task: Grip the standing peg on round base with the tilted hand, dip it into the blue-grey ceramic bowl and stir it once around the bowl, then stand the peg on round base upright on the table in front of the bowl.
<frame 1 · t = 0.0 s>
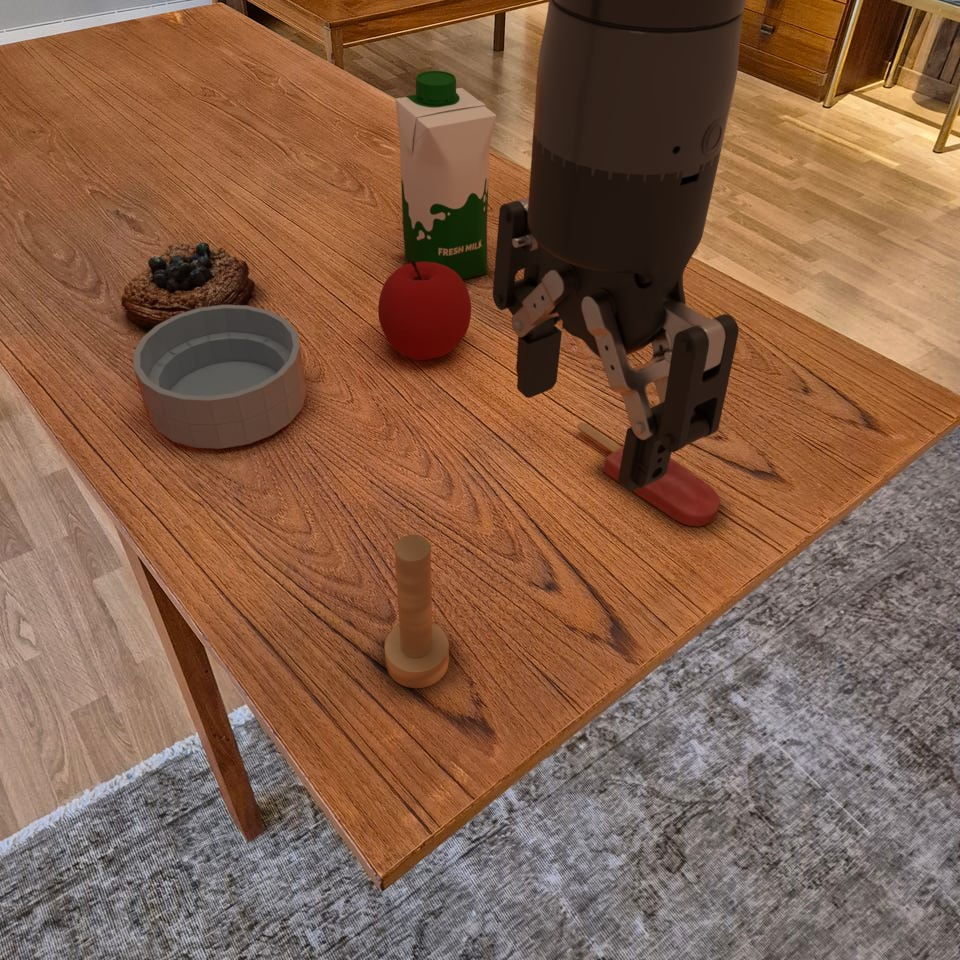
hand: (584, 433, 46), 22 cm above the table, tool pointing down, fingers open, 8 cm apart
popsicle: (640, 476, 77), on the table
milk carton: (445, 268, 101), on the table
apple: (425, 348, 90), on the table
pastry: (193, 308, 94), on the table
bowl: (229, 402, 82), on the table
peg on round base: (417, 661, 62), on the table
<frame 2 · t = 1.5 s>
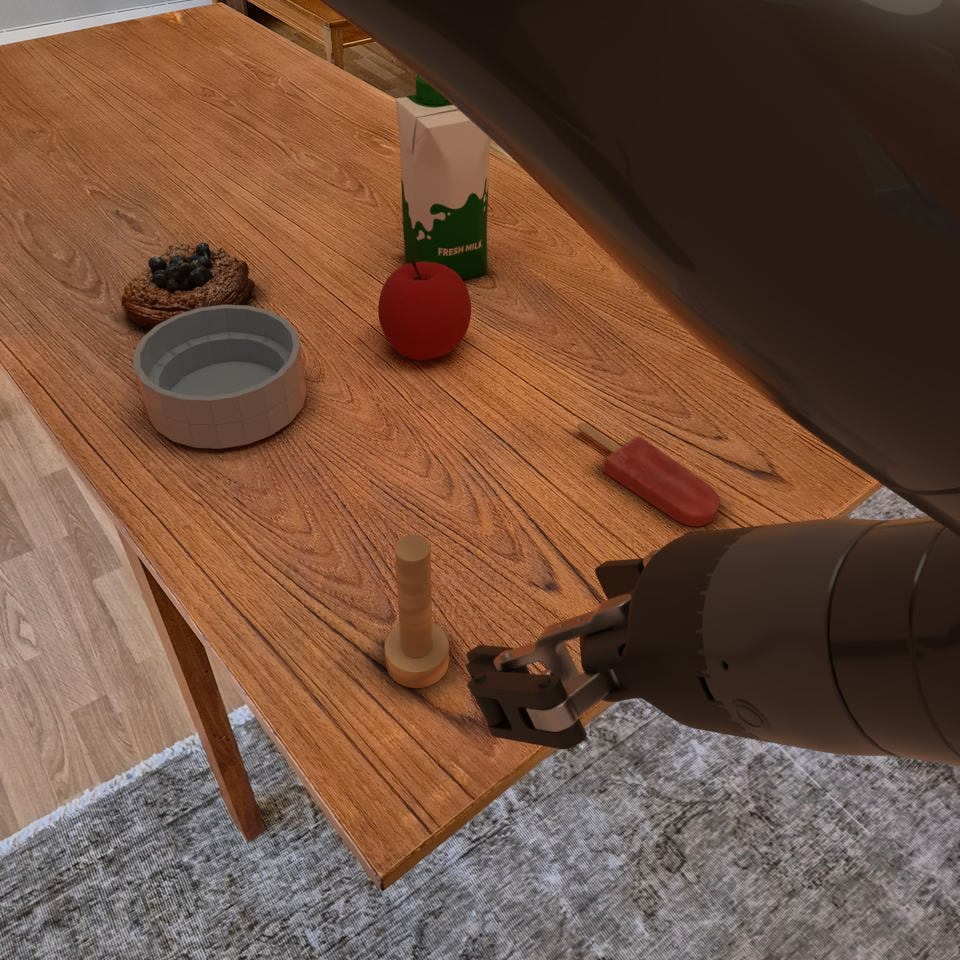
hand: (545, 623, 45), 16 cm above the table, tool tilted 45°, fingers open, 8 cm apart
nothing on the table moved.
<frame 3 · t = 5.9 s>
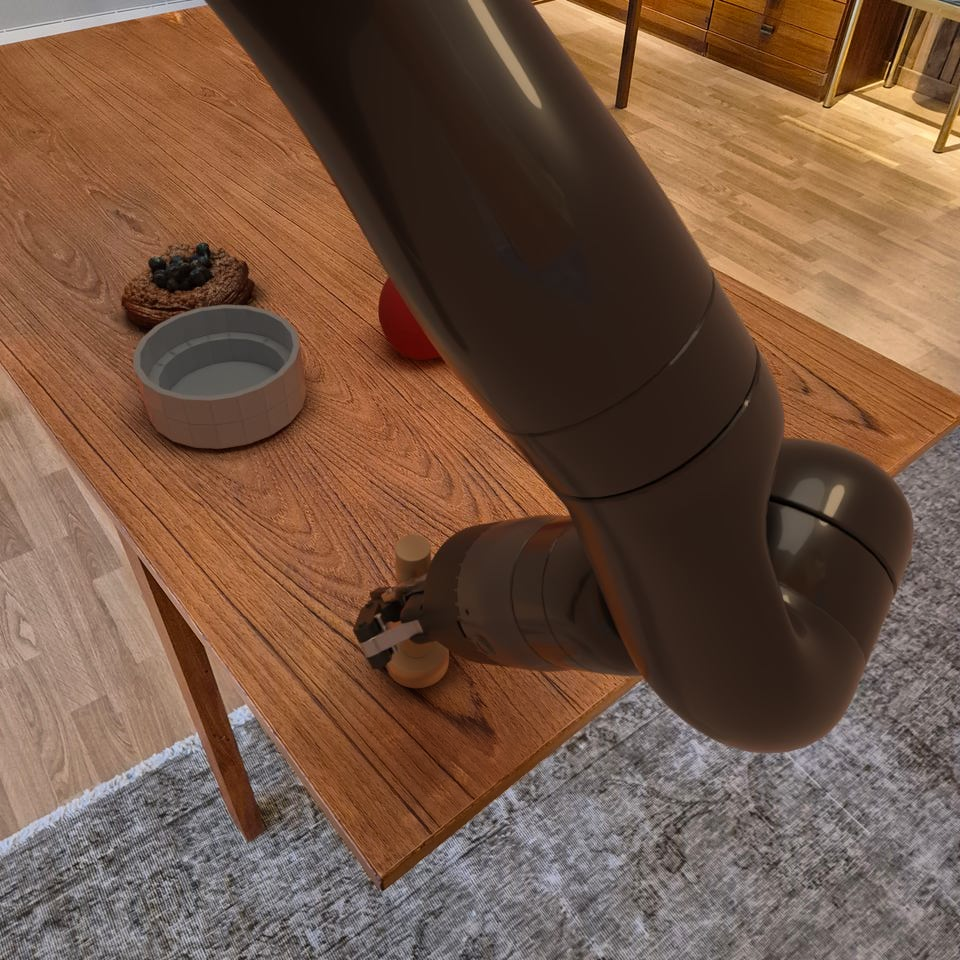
hand: (396, 594, 60), 5 cm above the table, tool tilted 45°, fingers closed on peg on round base, 2 cm apart
peg on round base: (417, 661, 62), on the table, touching gripper
everything else where it was.
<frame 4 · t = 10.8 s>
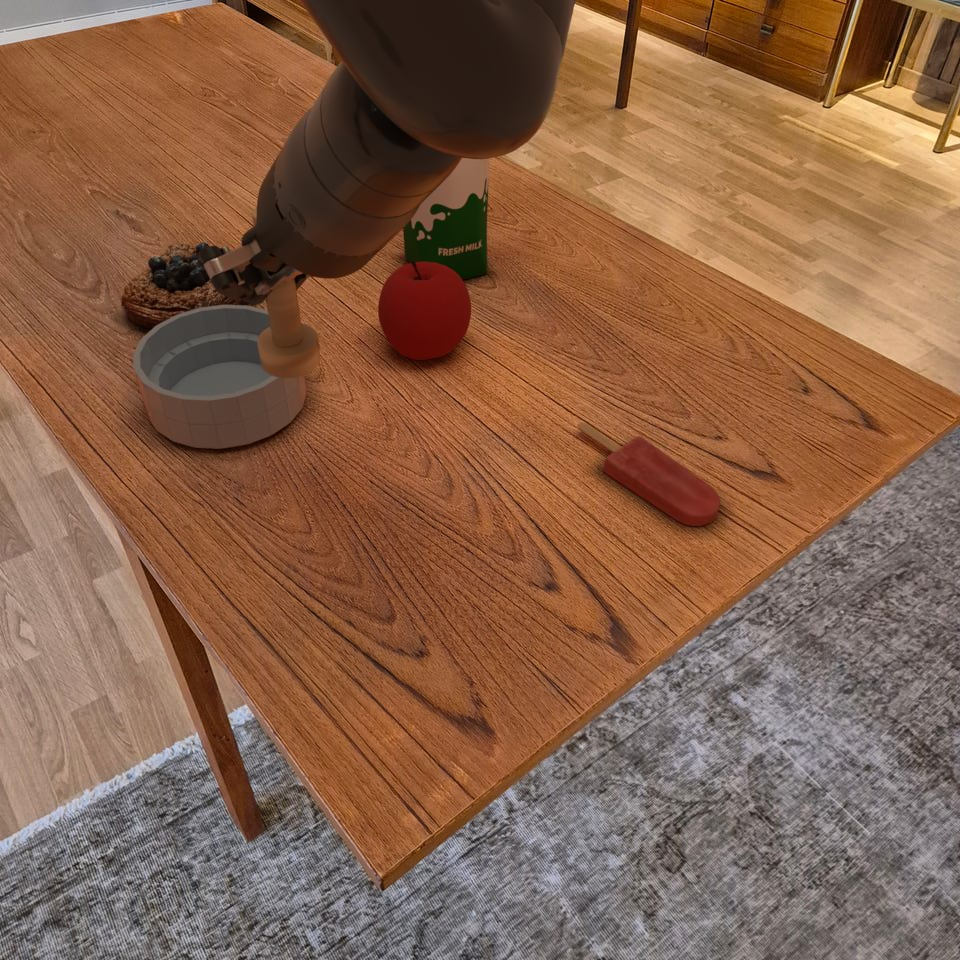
hand: (266, 285, 64), 18 cm above the table, tool tilted 45°, fingers closed on peg on round base
peg on round base: (291, 360, 67), point 12 cm above the table, touching gripper
everything else where it was.
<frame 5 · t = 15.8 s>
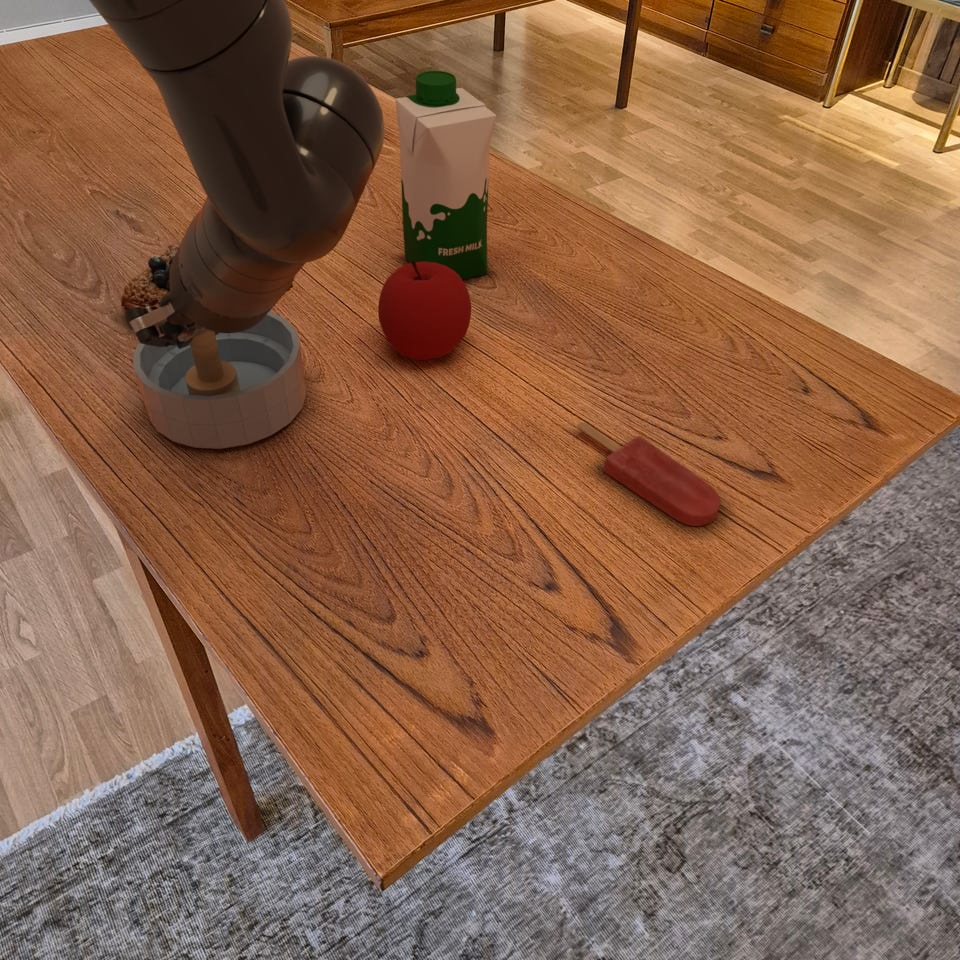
hand: (192, 331, 77), 8 cm above the table, tool tilted 45°, fingers closed on peg on round base, 2 cm apart
peg on round base: (214, 392, 79), point 2 cm above the table, touching gripper
everything else where it was.
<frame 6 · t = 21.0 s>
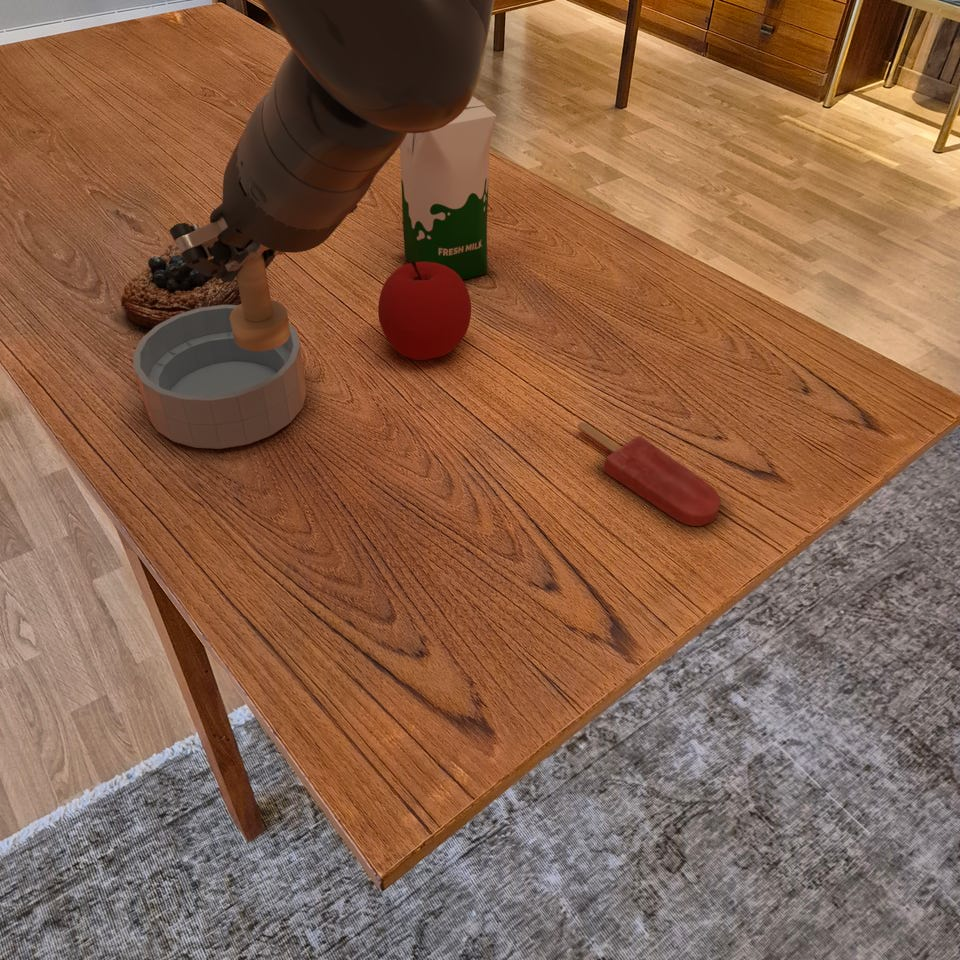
hand: (237, 264, 68), 17 cm above the table, tool tilted 45°, fingers closed on peg on round base
peg on round base: (262, 335, 70), point 11 cm above the table, touching gripper
everything else where it was.
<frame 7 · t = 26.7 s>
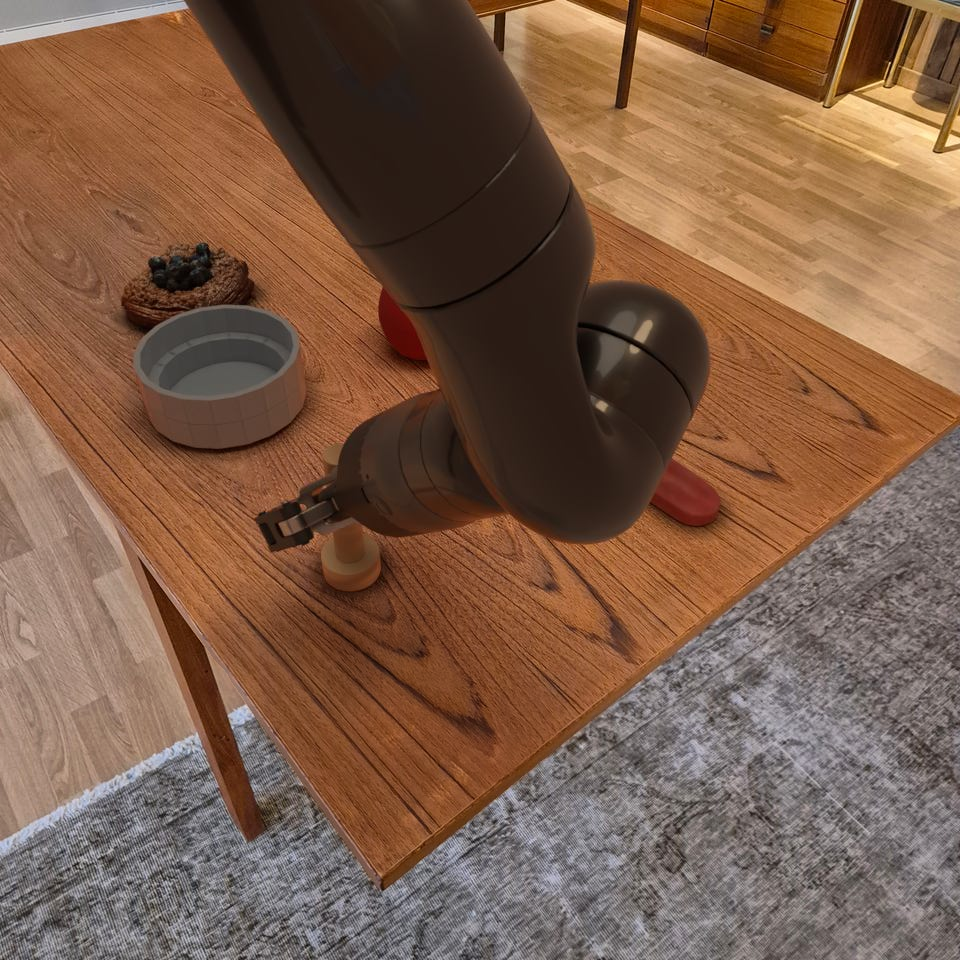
hand: (333, 495, 64), 7 cm above the table, tool tilted 45°, fingers open, 8 cm apart
peg on round base: (352, 569, 68), on the table
everything else where it was.
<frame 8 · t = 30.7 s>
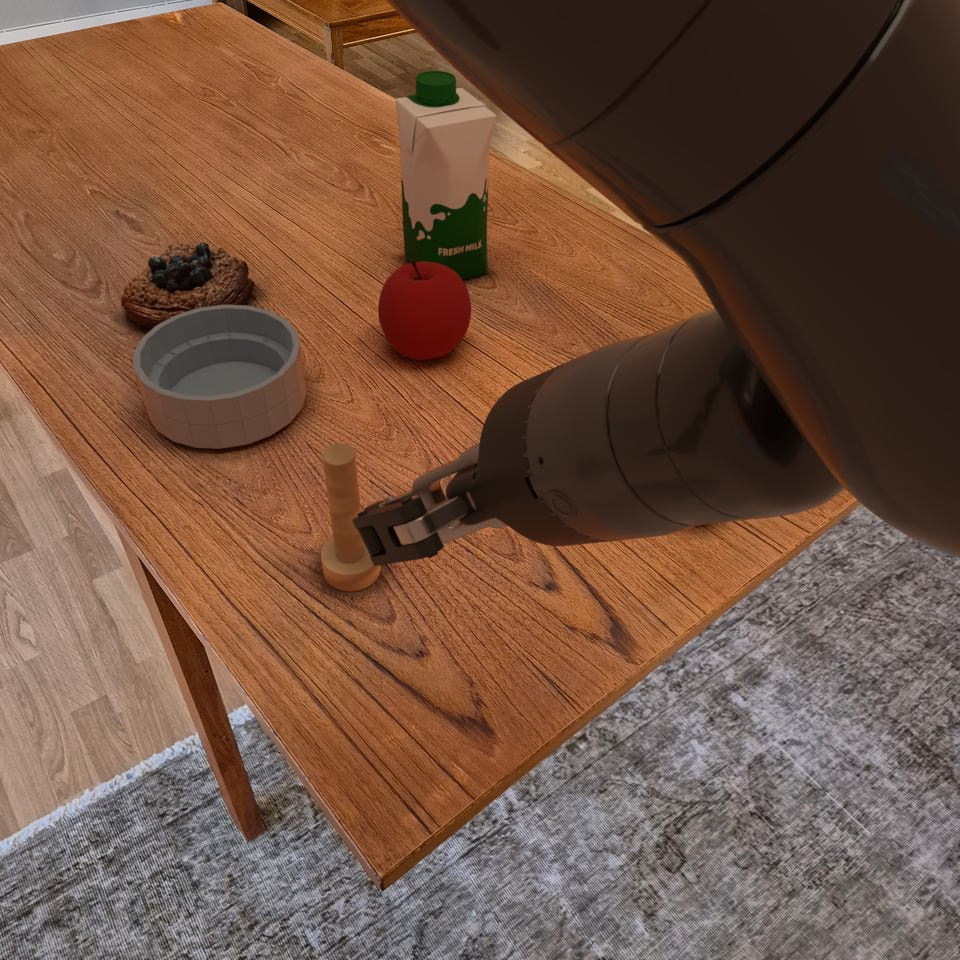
hand: (440, 490, 49), 18 cm above the table, tool tilted 45°, fingers open, 8 cm apart
nothing on the table moved.
at the end: peg on round base inside the target area on the table beside the bowl (0.1 cm from its centre), on the table; peg on round base tilted 0°; the gripper is holding nothing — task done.
